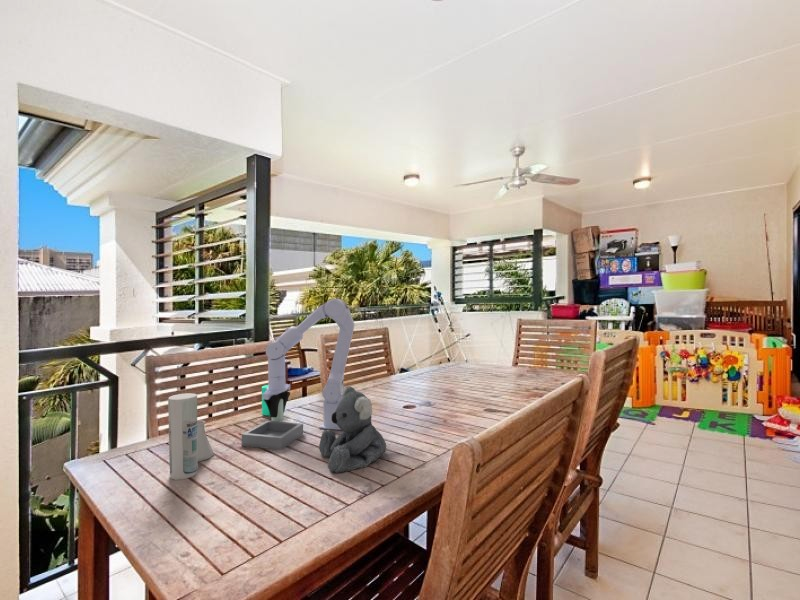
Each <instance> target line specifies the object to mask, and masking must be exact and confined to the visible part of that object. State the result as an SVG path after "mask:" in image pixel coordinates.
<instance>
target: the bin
mask: <svg viewBox="0 0 800 600" xmlns="http://www.w3.org/2000/svg"><path fill="white" fill-rule="evenodd" d="M301 435H302V436H303V435H304V423H301V422H299V423H298V422H289V421H288V422H287V421H280V422H277V421H271V420H266V421H263V422H261V423H259V424H258V425H256V426H254V427H252V428H250V429H249V430H246V431H245V432H243V433H241V446H242V447H251V448H259V447H260V448H261V449H269V448H270V450H278V449H280V451H281V450H283V449H284V448H286V447H287V446H289V445H290V444H292V443H293V442H294V441H296V440H297V439H299V438H300V437H301ZM298 437H299V438H298ZM295 439H296V440H295ZM291 442H292V443H291ZM260 448H259V449H260Z"/></svg>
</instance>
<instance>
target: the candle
mask: <svg viewBox="0 0 800 600" xmlns="http://www.w3.org/2000/svg"><path fill="white" fill-rule="evenodd" d="M266 388H268V384H265V385H263V386H261V415H263V416H270V413H269V409H268V407H267V405H266V403H265V401H264V399H263V393H265V392H266Z"/></svg>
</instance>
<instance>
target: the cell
mask: <svg viewBox="0 0 800 600" xmlns="http://www.w3.org/2000/svg"><path fill="white" fill-rule="evenodd" d="M270 418H271V419H270V421H277V422H284V413H283V399H280V402H279V405H278V414H277V417H276V418H275V417H271V416H270Z"/></svg>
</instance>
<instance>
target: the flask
mask: <svg viewBox="0 0 800 600" xmlns="http://www.w3.org/2000/svg"><path fill="white" fill-rule="evenodd" d="M206 423H207V422H206V421H204V420H197V460H198V462H202V461H205V460H208V459H211V457H213V456H214V455H215V453H214V450H213V448H212V446H211V443H210V441H209V440H208V439H209V438H208V437H207V433H206V429H205V424H206Z"/></svg>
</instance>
